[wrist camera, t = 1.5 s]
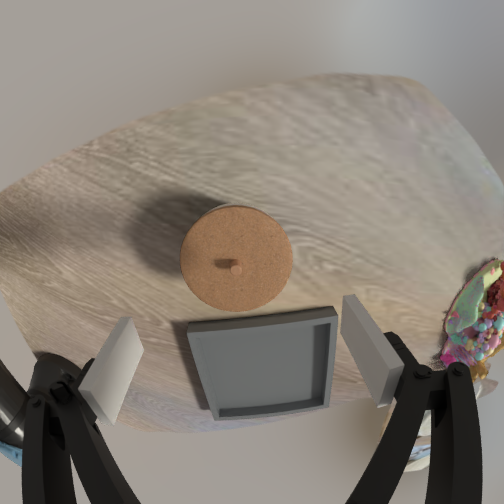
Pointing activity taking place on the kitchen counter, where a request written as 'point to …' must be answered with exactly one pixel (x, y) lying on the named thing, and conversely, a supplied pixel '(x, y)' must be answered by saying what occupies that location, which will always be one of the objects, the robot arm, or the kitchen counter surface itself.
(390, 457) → the robot arm
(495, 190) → the kitchen counter surface
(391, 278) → the kitchen counter surface
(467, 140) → the kitchen counter surface
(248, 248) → the lidded jar
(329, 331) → the tray
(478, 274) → the candy landscape model
